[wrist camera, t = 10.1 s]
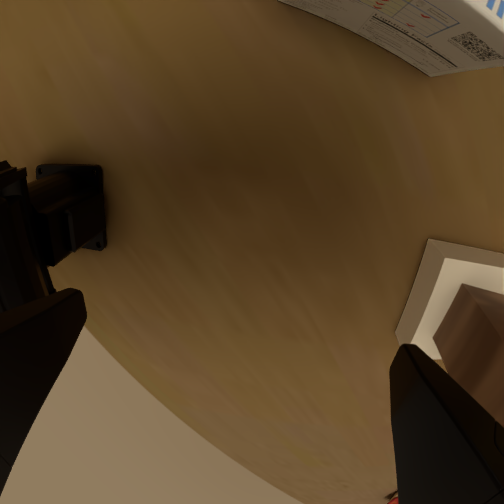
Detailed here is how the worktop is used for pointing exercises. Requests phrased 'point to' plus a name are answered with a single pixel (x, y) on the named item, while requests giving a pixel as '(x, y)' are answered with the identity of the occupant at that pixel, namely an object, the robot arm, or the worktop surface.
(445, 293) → the cream plinth
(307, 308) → the worktop surface
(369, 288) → the worktop surface
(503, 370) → the walnut column
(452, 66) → the light bulb box
